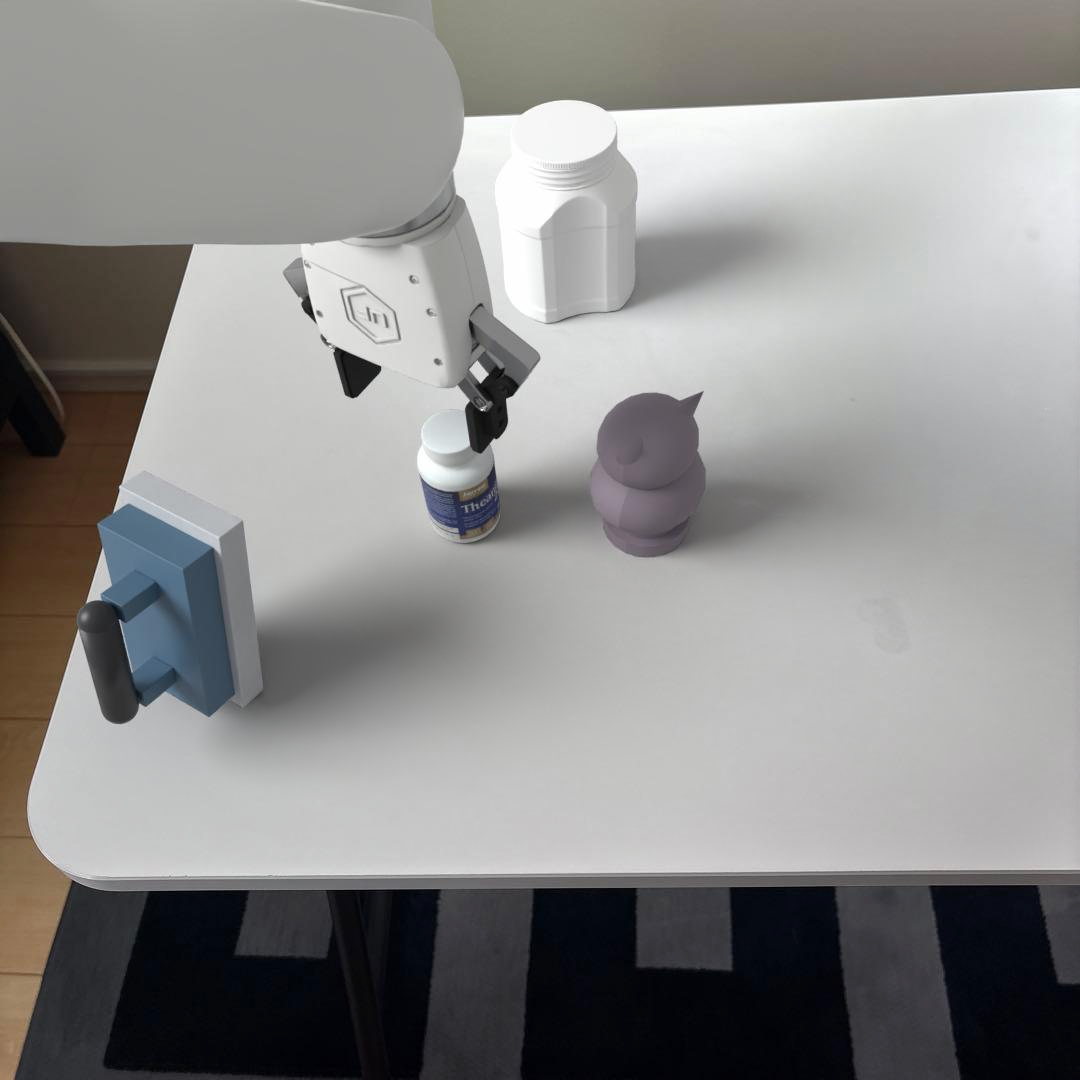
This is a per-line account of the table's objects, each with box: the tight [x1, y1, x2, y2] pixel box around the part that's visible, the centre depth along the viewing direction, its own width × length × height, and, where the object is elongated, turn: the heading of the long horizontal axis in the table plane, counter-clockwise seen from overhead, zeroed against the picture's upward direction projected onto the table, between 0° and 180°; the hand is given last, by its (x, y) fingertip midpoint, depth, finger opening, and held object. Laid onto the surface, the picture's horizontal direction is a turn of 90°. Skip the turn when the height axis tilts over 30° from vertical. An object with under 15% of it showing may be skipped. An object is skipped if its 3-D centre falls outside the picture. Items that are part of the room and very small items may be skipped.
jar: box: [494, 99, 639, 324], centre depth 88 cm, size 12×10×15 cm
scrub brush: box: [76, 470, 264, 725], centre depth 65 cm, size 15×8×9 cm
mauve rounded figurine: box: [588, 390, 707, 558], centre depth 74 cm, size 8×8×12 cm
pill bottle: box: [416, 408, 502, 544], centre depth 76 cm, size 5×5×10 cm
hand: (425, 410), depth 68 cm, fingers open, 9 cm apart
